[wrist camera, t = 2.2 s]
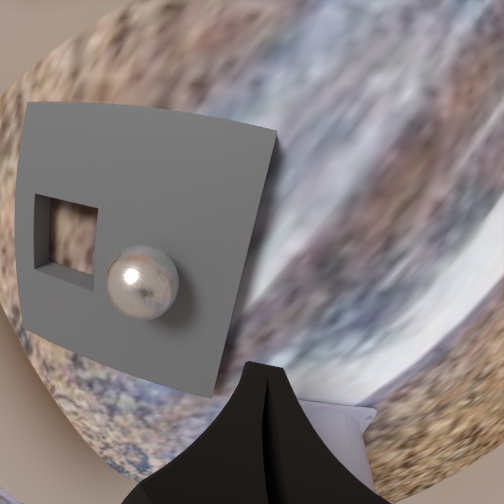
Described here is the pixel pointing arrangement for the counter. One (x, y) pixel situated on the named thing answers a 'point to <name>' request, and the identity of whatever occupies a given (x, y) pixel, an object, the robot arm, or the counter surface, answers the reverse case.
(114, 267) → the steel ball
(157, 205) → the hole board
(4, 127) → the counter surface
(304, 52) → the counter surface
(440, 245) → the counter surface
